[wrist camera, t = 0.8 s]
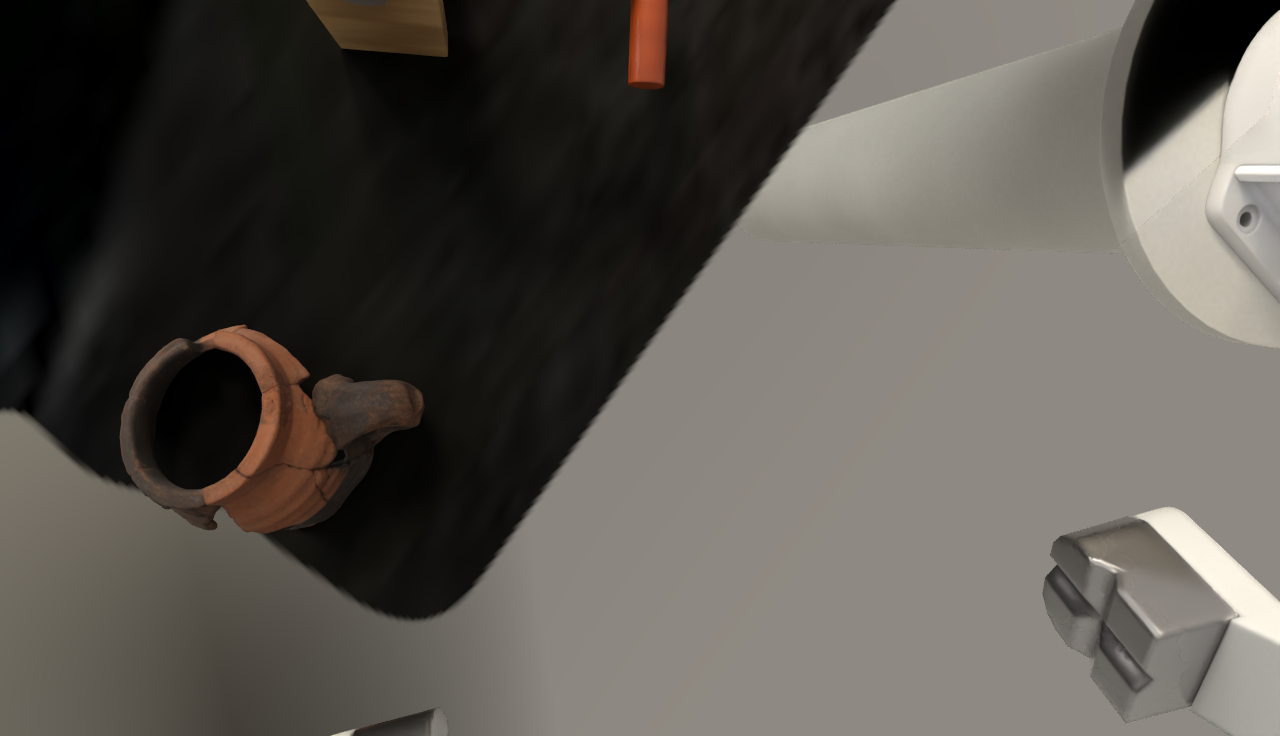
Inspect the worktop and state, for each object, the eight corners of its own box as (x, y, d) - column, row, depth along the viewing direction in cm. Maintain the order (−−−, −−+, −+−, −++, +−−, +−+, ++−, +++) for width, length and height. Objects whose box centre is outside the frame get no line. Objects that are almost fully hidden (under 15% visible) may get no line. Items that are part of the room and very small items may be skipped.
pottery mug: (253, 557, 39) (113, 566, 31) (223, 377, 41) (86, 341, 33) (478, 485, 37) (391, 474, 29) (434, 302, 40) (343, 246, 32)
